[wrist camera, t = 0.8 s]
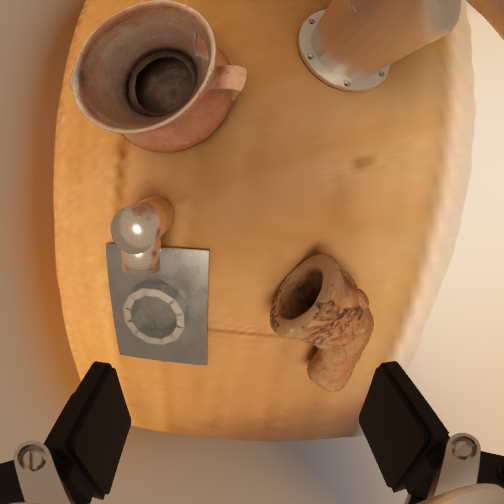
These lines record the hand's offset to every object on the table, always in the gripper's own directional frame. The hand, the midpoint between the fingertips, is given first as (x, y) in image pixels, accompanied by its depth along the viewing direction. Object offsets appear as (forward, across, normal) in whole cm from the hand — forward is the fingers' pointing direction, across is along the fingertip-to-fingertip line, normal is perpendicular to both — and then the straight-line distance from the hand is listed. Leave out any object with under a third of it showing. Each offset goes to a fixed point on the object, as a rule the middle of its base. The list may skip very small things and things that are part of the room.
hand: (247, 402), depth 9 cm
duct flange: (+28, +11, +11) cm, 32 cm away
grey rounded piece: (+28, +10, -1) cm, 30 cm away
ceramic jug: (+28, +9, -17) cm, 34 cm away
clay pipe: (+28, -11, +11) cm, 32 cm away
